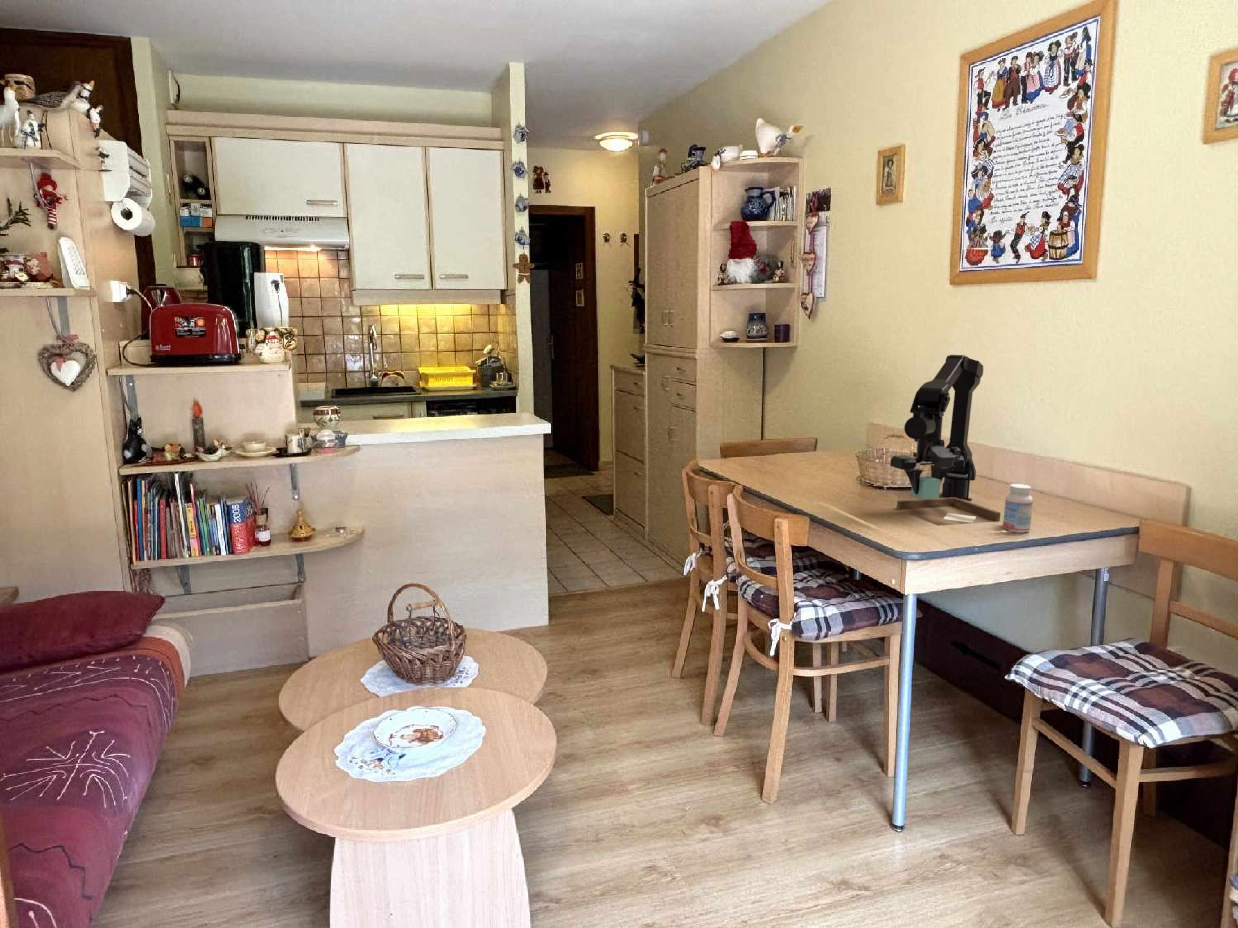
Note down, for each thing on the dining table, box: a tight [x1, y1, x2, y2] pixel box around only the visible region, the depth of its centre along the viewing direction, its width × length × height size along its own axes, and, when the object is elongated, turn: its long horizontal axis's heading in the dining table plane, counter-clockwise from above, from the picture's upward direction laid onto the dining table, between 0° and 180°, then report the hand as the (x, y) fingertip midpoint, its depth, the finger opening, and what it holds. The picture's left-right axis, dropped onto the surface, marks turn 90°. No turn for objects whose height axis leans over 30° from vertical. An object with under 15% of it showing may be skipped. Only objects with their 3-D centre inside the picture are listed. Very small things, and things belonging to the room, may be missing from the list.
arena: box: [896, 497, 1001, 526], centre depth 216 cm, size 18×18×3 cm
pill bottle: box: [1002, 483, 1034, 534], centre depth 203 cm, size 6×6×11 cm
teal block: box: [910, 475, 941, 499], centre depth 218 cm, size 5×5×5 cm
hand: (925, 493), depth 218 cm, fingers closed on teal block, 5 cm apart
